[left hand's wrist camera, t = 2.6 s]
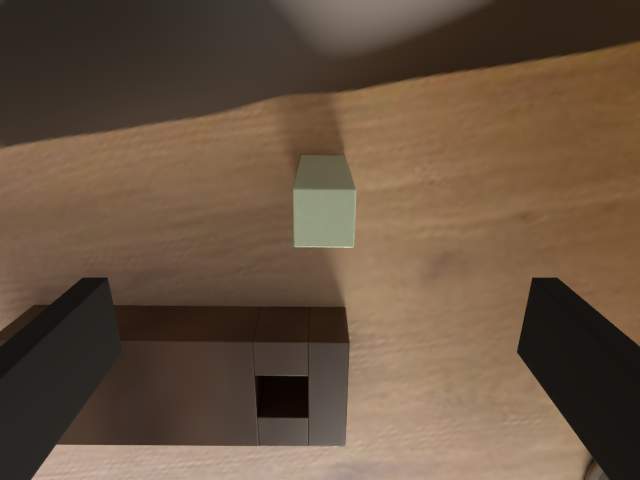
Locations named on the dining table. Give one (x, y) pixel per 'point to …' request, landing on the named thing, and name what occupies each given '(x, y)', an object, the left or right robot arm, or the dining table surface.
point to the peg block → (218, 378)
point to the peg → (324, 202)
